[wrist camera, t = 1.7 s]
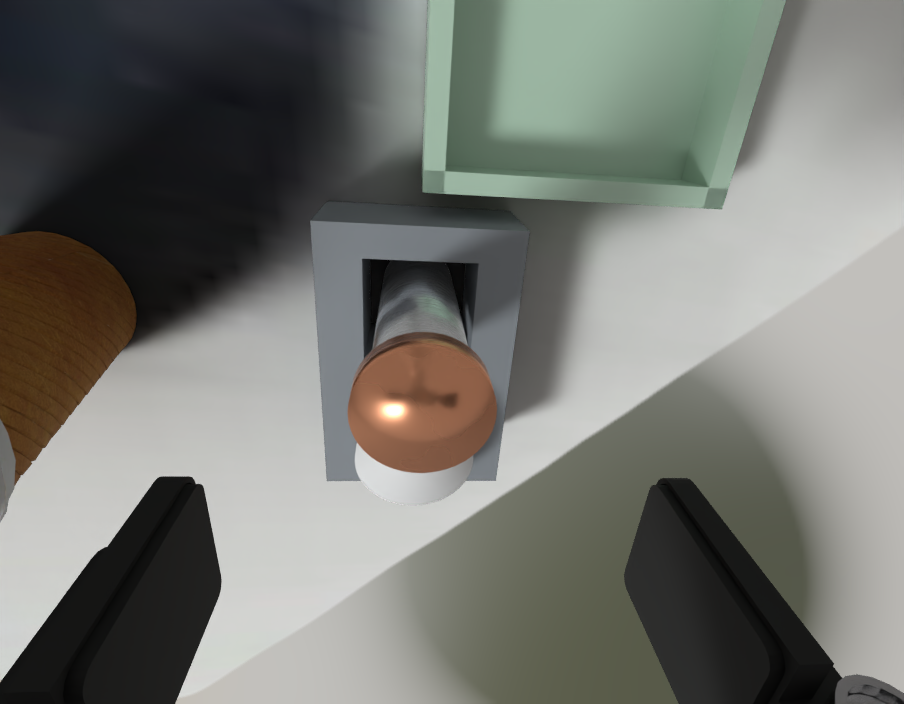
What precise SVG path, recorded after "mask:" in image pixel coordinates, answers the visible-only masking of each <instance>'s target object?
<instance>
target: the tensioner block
mask: <svg viewBox="0 0 904 704" xmlns="http://www.w3.org/2000/svg"><path fill="white" fill-rule="evenodd" d="M310 227H311V242H312V258H313V273H314V289H315V304H316V320H317V335H318V351H319V366H320V382H321V397H322V413H323V429H324V444H325V460H326V475H327V481H362V483H363V484H364V485H365V486H366V488H367V489H368V490H370V491H371V492H372V493H373V494H375V495H376V496H378V497H380V498H382V499H384V500H386V501H389V502H392V503H396V504H401V505H424V504H429V503H433V502H436V501H439V500H442V499H444V498H446V497H448V496H449V495H451V494H452V493H454V492H455V491H456V490H458V489H459V488H460V487H461V486H462V485H463V483H464V482H465V481H496V475H497V468H498V461H499V453H500V446H501V439H502V431H503V424H504V417H505V410H506V402H507V395H508V388H509V380H510V373H511V366H512V359H513V351H514V344H515V337H516V329H517V322H518V315H519V307H520V300H521V293H522V286H523V278H524V271H525V264H526V256H527V249H528V242H529V235H530V231H529V230H528V229H527V228H526V227H525V226H524V225H523V224H522V223H521V222H520V221H519V220H518V219H517V218H516V216H515V215H514V214H513V213H512V212H511V211H502V210H483V209H465V208H446V207H428V206H409V205H390V204H372V203H353V202H334V201H327V202H326V203H325V204H324V205H323V207H322V208H321V209H320V210H319V211H318V212H317V213H316V215H315V216H314V217H313V218H312V219H311V220H310ZM370 259H384V260H408V261H431V262H455V263H466V267H465V280H464V292H463V305H462V317H461V319H462V323H463V328H464V332H465V336H466V340H467V344H468V346H469V347H470V348H471V349H472V350H473V351H474V352H476V354H477V355H478V356H479V357H480V358H481V360H482V361H483V363H484V364H485V366H486V368H487V371H488V373H489V376H490V380H491V383H492V386H493V390H494V393H495V397H496V403H497V416H496V421H495V425H494V428H493V431H492V433H491V435H490V436H489V438H488V440H487V441H486V442H485V444H484V445H483V446H482V447H481V448H480V450H479V451H478V452H476V453H475V454H474V455H473V456H472V457H470V458H469V459H467V460H466V461H464V462H462V463H460V464H458V465H456V466H454V467H451V468H449V469H445V470H441V471H437V472H430V473H411V472H404V471H400V470H396V469H393V468H390V467H387V466H385V465H383V464H381V463H379V462H377V461H376V460H375V459H373V458H372V457H370V456H369V455H368V454H367V453H366V452H365V451H364V450H363V449H362V448H361V447H360V446H359V445H358V443H357V441H356V440H355V438H354V436H353V434H352V432H351V429H350V426H349V422H348V403H349V398H350V393H351V388H352V384H353V379H354V376H355V373H356V371H357V369H358V367H359V365H360V363H361V362H362V361H363V359H364V358H365V357H366V356H367V355H368V354H369V353H370V352H371V351H372V349H373V342H374V336H375V329H376V324H371V293H370Z"/></svg>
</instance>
